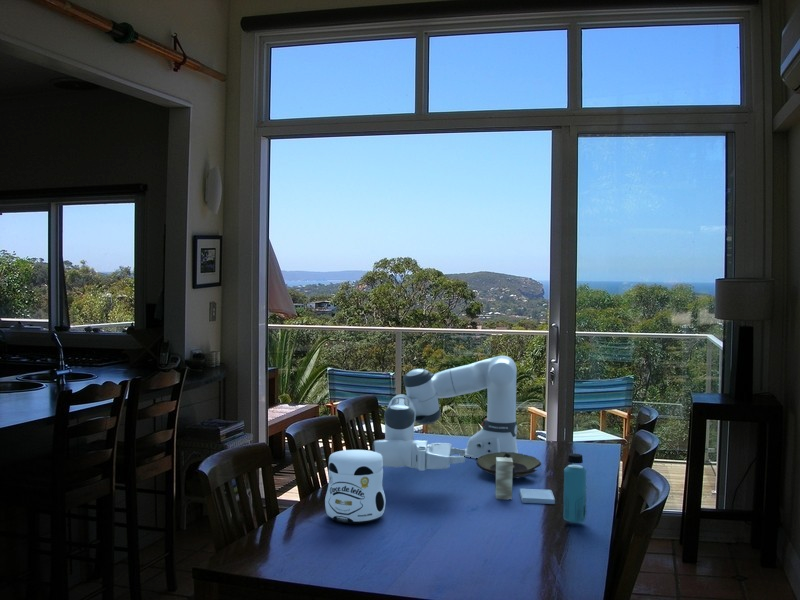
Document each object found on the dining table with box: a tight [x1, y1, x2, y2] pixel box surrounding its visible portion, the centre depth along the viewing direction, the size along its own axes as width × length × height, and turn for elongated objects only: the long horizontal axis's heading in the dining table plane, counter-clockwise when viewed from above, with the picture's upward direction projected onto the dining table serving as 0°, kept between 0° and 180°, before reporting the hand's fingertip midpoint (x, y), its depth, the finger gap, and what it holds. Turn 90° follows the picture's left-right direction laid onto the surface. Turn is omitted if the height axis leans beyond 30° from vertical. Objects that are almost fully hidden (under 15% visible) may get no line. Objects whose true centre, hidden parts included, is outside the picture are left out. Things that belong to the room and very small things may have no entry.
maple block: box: [494, 457, 513, 500], centre depth 229 cm, size 5×5×12 cm
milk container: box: [324, 449, 387, 525], centre depth 206 cm, size 17×17×18 cm
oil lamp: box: [476, 452, 542, 480], centre depth 253 cm, size 22×30×8 cm
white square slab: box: [519, 488, 556, 505], centre depth 228 cm, size 10×10×2 cm
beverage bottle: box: [562, 452, 588, 524], centre depth 204 cm, size 6×7×20 cm
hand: (465, 455), depth 230 cm, fingers open, 8 cm apart
